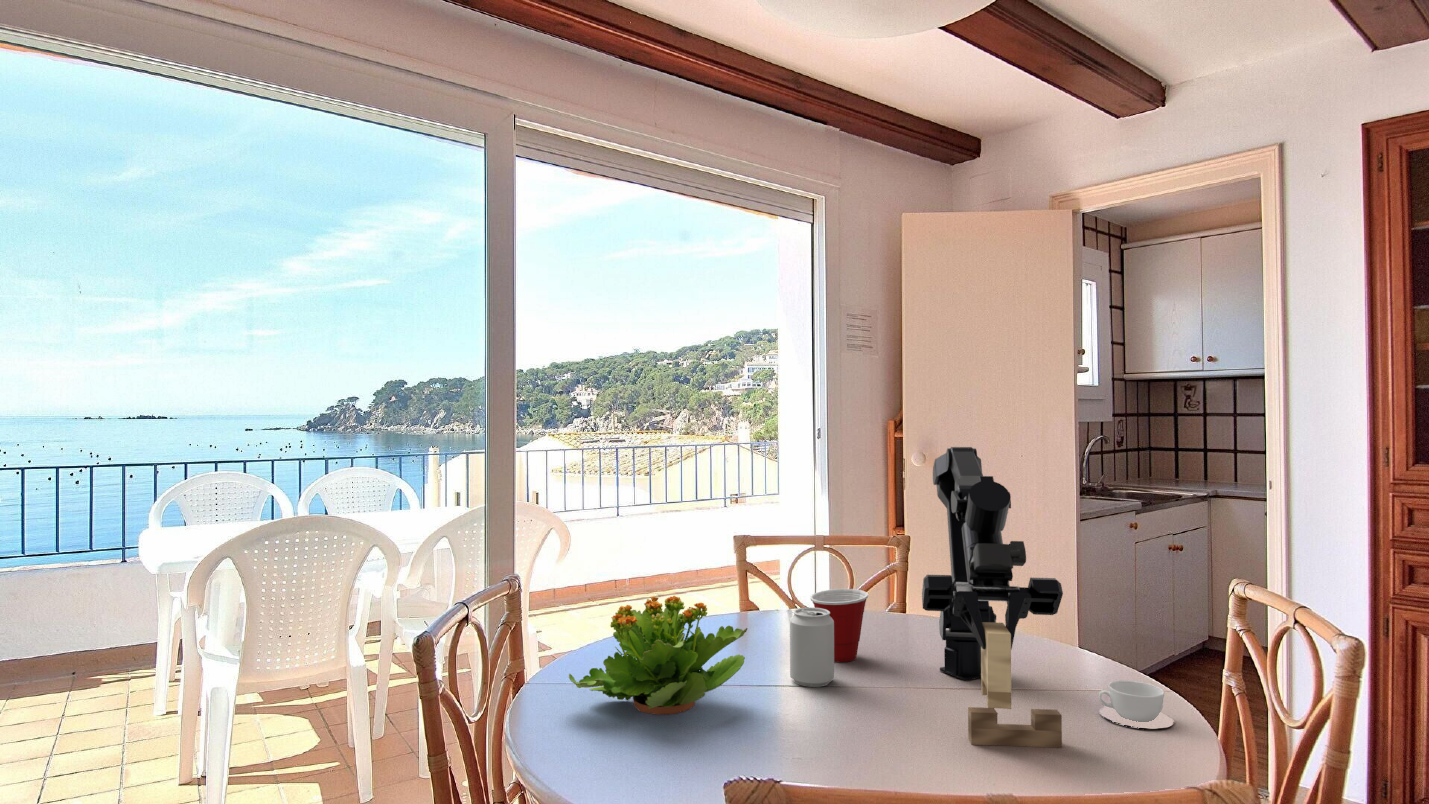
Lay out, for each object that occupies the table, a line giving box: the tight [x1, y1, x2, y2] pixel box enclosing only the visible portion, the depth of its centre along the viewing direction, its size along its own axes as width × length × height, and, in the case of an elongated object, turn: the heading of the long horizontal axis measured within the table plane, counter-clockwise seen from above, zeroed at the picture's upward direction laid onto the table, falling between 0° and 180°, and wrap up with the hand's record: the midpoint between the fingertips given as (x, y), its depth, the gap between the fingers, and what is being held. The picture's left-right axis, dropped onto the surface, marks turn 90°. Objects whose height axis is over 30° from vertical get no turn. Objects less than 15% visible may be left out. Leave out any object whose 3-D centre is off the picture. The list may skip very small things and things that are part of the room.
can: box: [789, 607, 835, 688], centre depth 141 cm, size 8×8×12 cm
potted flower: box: [568, 595, 748, 716], centre depth 130 cm, size 25×24×18 cm
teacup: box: [1098, 679, 1165, 729], centre depth 123 cm, size 10×10×5 cm
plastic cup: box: [809, 588, 869, 663], centre depth 154 cm, size 11×11×12 cm
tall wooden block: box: [980, 622, 1012, 710], centre depth 114 cm, size 6×3×10 cm, turn 170°
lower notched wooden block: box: [967, 706, 1063, 748], centre depth 114 cm, size 12×2×4 cm, turn 85°
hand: (997, 648), depth 113 cm, fingers closed on tall wooden block, 3 cm apart
